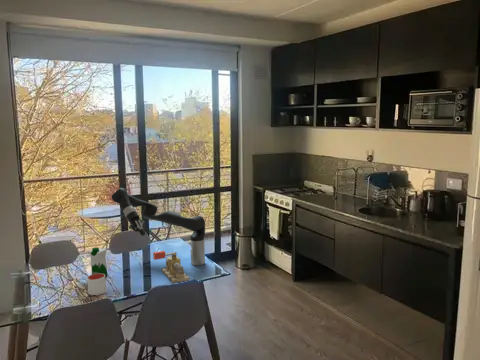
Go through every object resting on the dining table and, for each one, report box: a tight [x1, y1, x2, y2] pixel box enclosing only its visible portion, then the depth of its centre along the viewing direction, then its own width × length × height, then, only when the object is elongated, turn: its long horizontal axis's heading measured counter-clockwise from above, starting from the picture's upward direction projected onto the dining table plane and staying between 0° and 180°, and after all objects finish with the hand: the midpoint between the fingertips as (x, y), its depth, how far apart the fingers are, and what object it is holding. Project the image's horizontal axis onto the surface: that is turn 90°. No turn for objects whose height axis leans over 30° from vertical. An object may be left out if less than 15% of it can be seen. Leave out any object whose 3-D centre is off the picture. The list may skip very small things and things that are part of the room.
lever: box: [152, 250, 177, 261], centre depth 260 cm, size 3×15×4 cm, turn 118°
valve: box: [161, 255, 190, 284], centre depth 264 cm, size 24×10×14 cm, turn 28°
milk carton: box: [88, 247, 109, 278], centre depth 265 cm, size 9×9×20 cm
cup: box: [86, 273, 107, 296], centre depth 241 cm, size 10×10×10 cm
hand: (143, 235), depth 267 cm, fingers closed
